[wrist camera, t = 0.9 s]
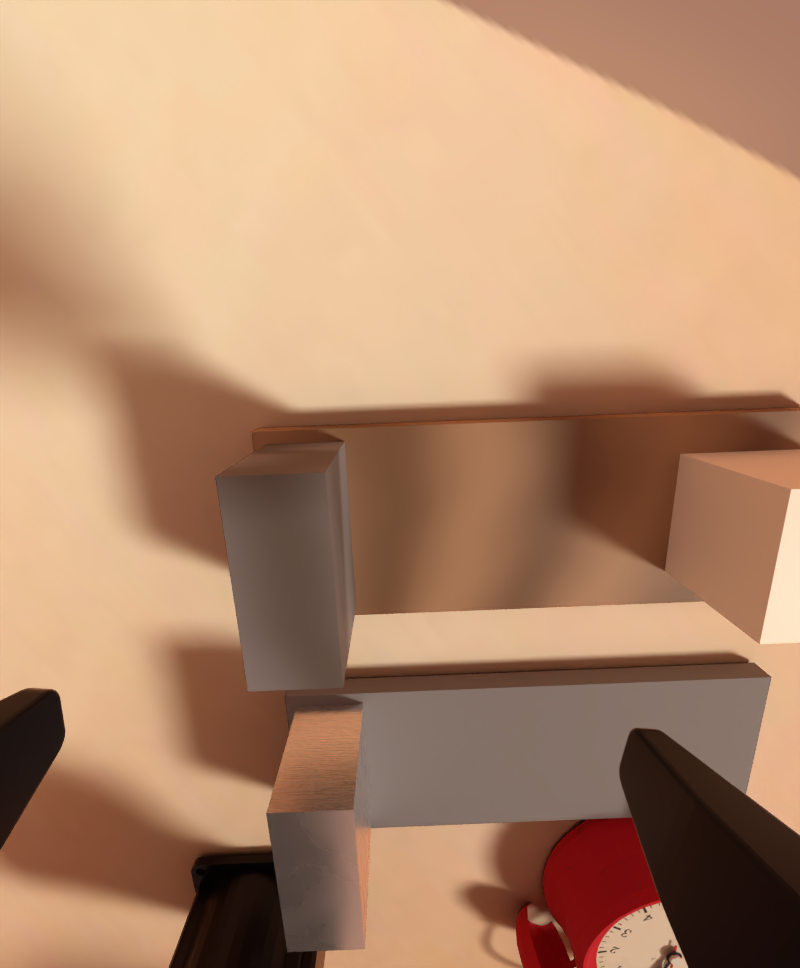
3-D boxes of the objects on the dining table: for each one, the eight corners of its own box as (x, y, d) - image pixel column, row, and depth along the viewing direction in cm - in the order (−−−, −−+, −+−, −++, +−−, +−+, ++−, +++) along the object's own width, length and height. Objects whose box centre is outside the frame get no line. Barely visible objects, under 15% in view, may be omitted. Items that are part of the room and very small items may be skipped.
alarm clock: (846, 906, 21) (689, 1186, 21) (730, 801, 27) (609, 1017, 27) (673, 824, 19) (504, 1125, 19) (593, 733, 25) (465, 961, 25)
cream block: (664, 571, 19) (759, 644, 14) (680, 453, 17) (791, 489, 12) (783, 566, 19) (920, 637, 14) (808, 449, 17) (968, 482, 12)
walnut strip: (280, 605, 20) (234, 705, 14) (259, 427, 18) (194, 459, 12) (769, 586, 20) (922, 678, 14) (806, 406, 18) (1003, 428, 12)
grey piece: (305, 811, 23) (275, 961, 17) (289, 681, 21) (250, 802, 15) (727, 794, 23) (838, 938, 17) (754, 662, 21) (890, 776, 15)
